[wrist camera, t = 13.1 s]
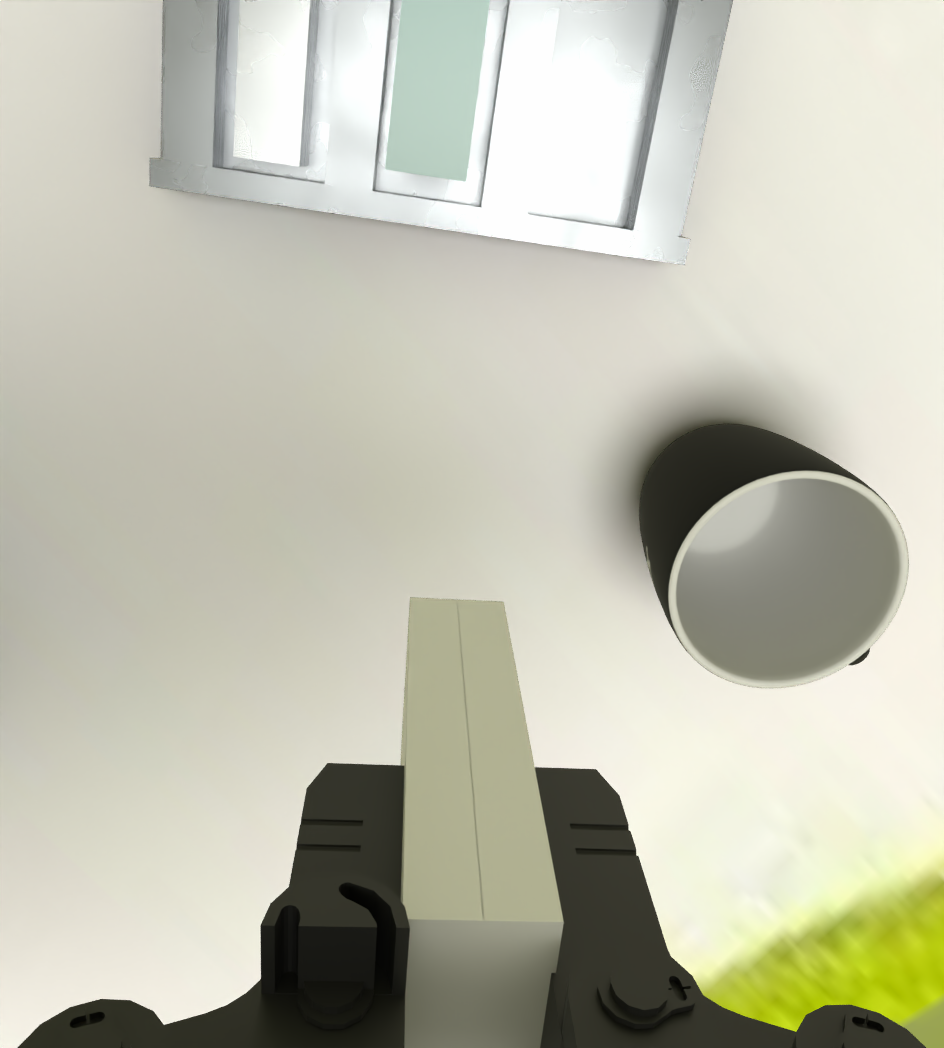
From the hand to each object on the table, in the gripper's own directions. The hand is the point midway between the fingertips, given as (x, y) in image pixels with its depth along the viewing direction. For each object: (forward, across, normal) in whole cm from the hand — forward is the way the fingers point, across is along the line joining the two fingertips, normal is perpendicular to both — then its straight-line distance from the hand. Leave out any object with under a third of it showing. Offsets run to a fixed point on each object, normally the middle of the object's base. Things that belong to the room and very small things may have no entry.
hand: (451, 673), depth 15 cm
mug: (+27, +15, -7) cm, 31 cm away
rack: (+27, 0, +12) cm, 29 cm away
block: (+26, 0, +12) cm, 28 cm away
